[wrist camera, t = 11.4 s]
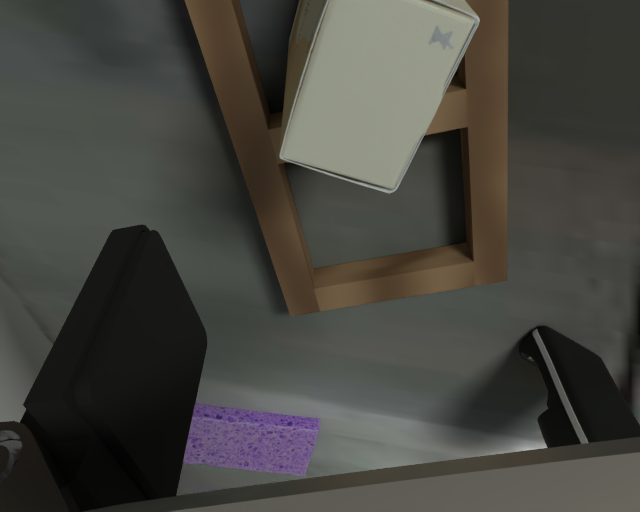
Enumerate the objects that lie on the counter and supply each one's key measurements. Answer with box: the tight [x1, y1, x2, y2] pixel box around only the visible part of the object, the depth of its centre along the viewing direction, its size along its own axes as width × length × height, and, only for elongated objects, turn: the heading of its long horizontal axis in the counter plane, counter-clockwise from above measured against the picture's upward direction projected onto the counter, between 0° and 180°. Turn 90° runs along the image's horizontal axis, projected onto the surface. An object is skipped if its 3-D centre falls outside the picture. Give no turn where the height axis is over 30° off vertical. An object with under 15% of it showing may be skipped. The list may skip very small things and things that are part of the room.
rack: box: [185, 0, 508, 316], centre depth 29 cm, size 14×24×2 cm, turn 12°
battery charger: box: [519, 326, 640, 448], centre depth 37 cm, size 7×4×11 cm, turn 56°
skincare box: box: [279, 0, 480, 193], centre depth 21 cm, size 6×4×12 cm
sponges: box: [183, 404, 320, 476], centre depth 47 cm, size 7×13×2 cm, turn 78°
